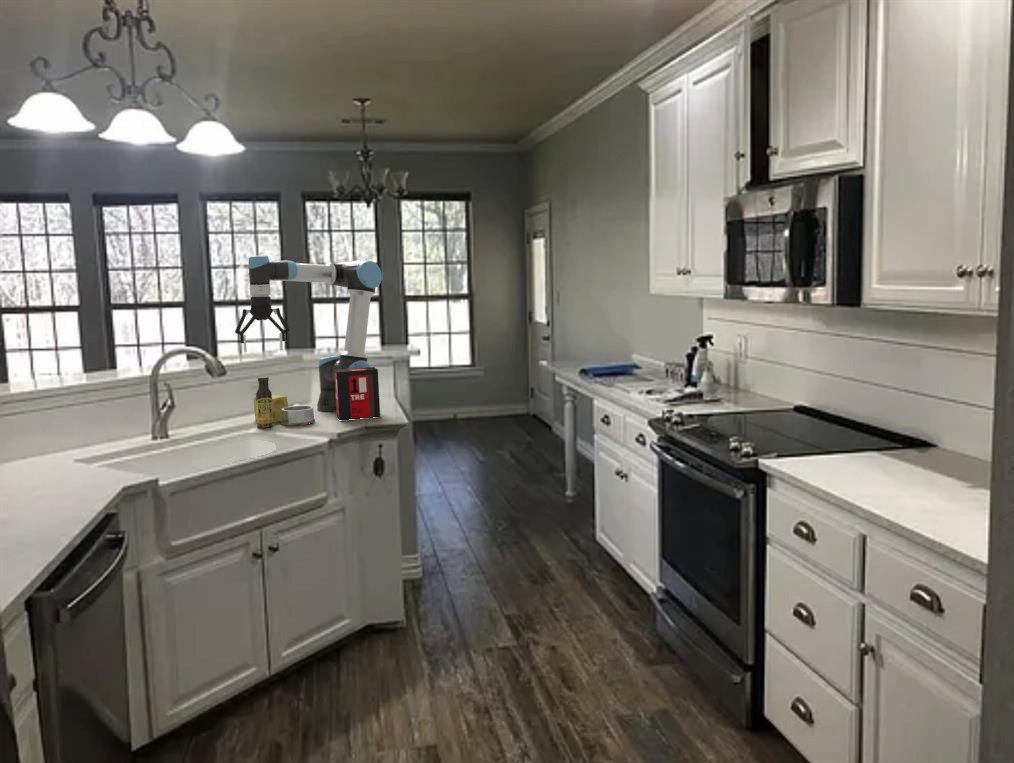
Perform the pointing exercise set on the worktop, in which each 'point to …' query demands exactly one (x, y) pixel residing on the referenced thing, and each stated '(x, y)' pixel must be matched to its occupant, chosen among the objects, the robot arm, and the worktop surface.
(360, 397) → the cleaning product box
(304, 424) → the duct base
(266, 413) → the sauce bottle
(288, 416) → the collar
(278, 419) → the cheese
